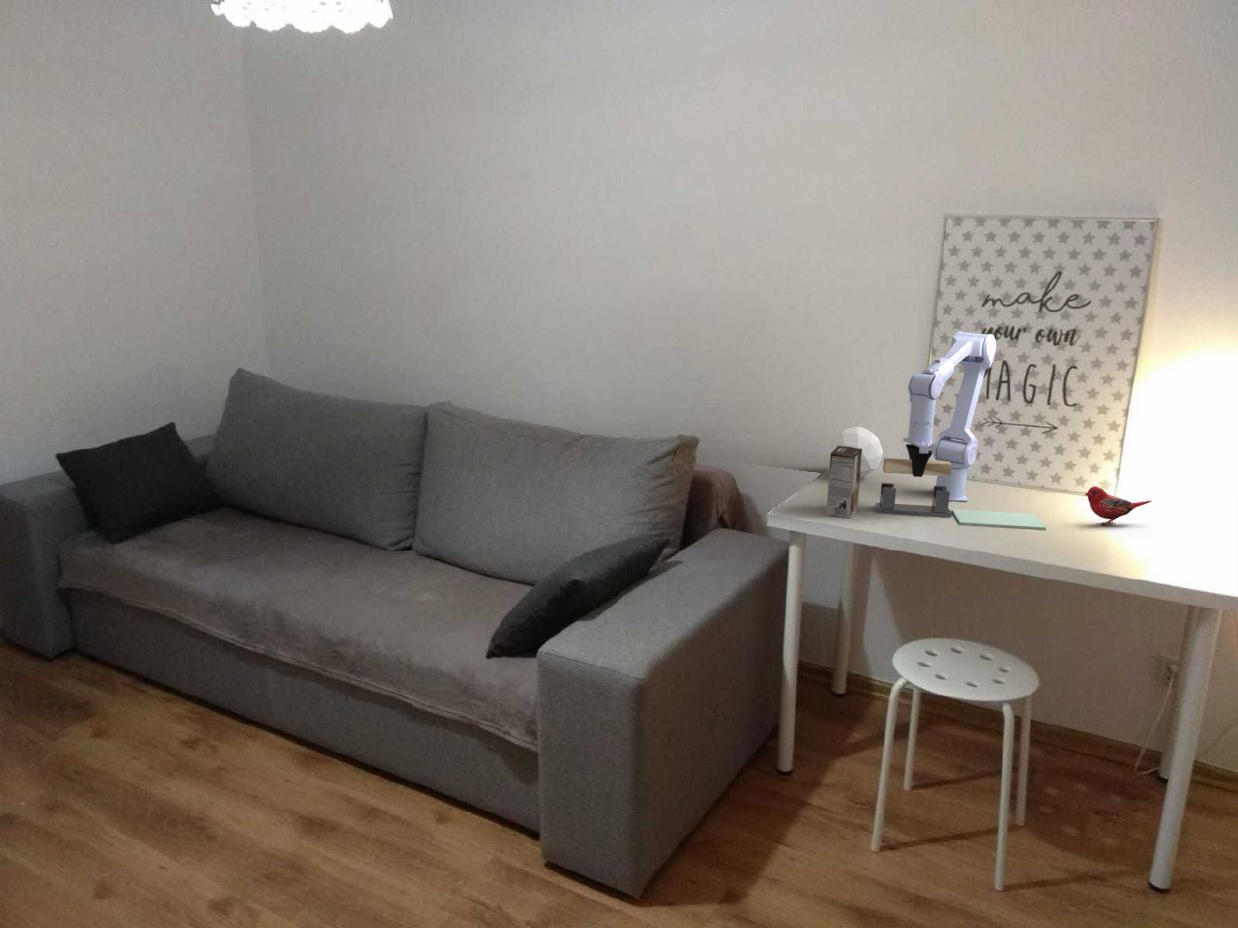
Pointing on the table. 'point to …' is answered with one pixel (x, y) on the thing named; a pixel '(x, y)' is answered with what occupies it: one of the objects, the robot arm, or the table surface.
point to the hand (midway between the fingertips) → (916, 474)
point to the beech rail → (906, 467)
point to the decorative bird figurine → (1109, 505)
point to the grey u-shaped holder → (937, 508)
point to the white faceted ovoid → (860, 447)
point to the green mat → (998, 519)
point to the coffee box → (844, 481)
